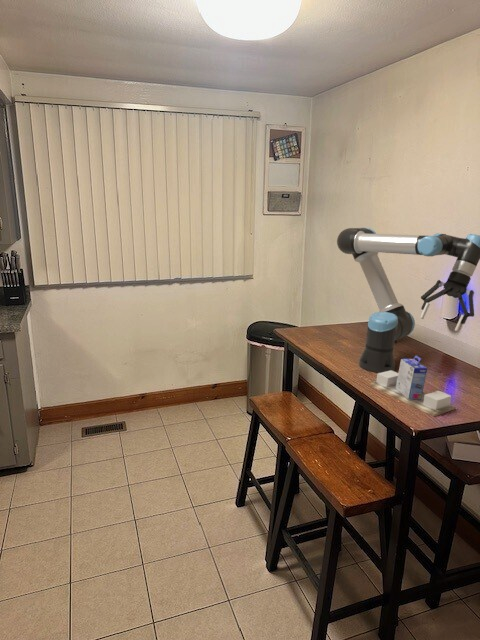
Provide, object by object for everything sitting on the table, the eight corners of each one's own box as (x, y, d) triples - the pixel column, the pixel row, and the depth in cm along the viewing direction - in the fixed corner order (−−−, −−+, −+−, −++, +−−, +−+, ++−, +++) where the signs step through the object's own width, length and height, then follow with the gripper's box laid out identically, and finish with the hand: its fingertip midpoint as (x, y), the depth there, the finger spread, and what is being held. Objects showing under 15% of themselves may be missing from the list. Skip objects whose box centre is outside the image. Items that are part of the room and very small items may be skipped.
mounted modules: (376, 381, 171) (377, 373, 170) (389, 378, 175) (391, 370, 174) (435, 409, 150) (437, 400, 149) (449, 405, 154) (451, 395, 153)
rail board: (370, 385, 171) (370, 381, 170) (390, 380, 177) (391, 376, 177) (433, 416, 148) (434, 412, 148) (454, 409, 155) (455, 405, 154)
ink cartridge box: (422, 399, 157) (429, 362, 153) (408, 400, 156) (414, 362, 152) (408, 388, 166) (414, 352, 162) (395, 388, 166) (400, 352, 162)
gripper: (496, 286, 165) (472, 337, 167) (431, 267, 180) (410, 314, 182) (494, 282, 159) (470, 335, 161) (427, 262, 174) (405, 311, 176)
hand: (438, 324), depth 172 cm, fingers open, 13 cm apart
